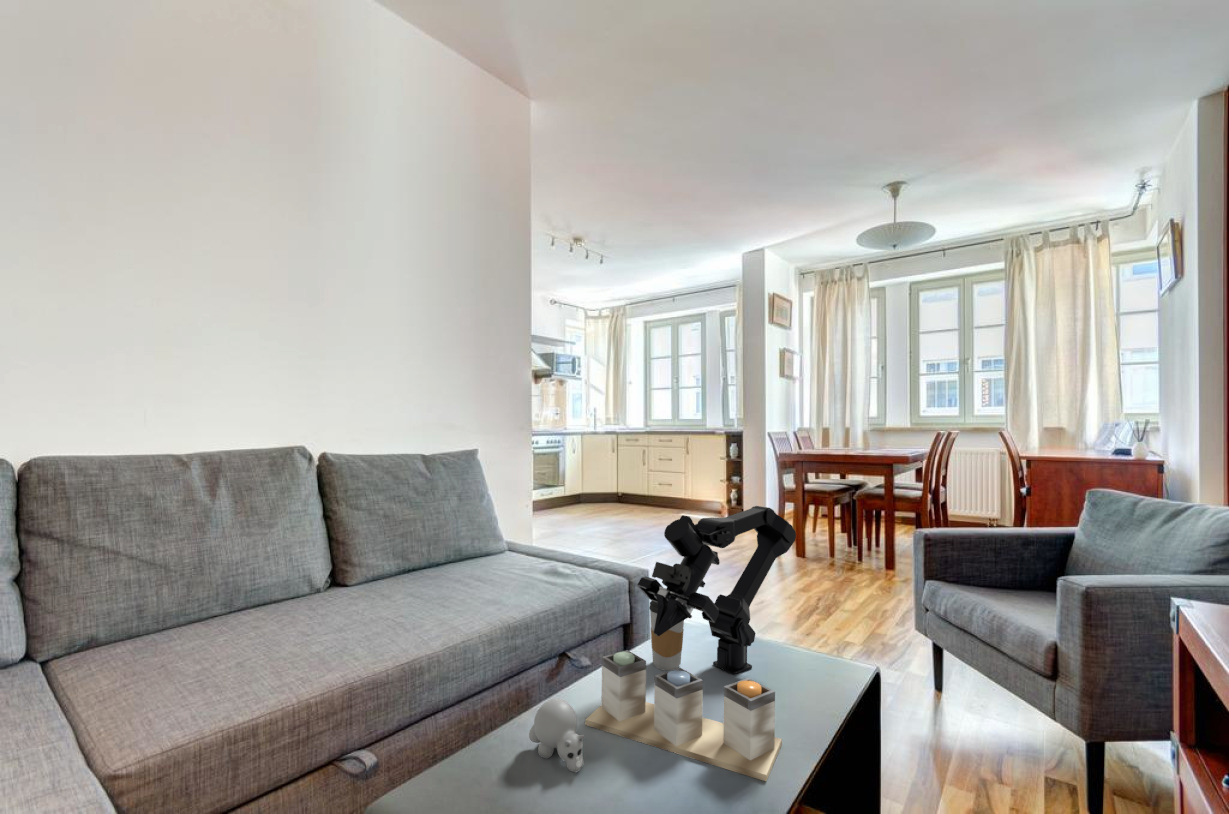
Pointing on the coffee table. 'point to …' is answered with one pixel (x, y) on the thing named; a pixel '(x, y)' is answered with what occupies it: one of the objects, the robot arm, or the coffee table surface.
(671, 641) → the coffee cup
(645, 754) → the coffee table surface
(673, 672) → the slate button
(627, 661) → the sage button
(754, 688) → the orange button
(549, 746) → the toy rhinoceros
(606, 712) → the button board
